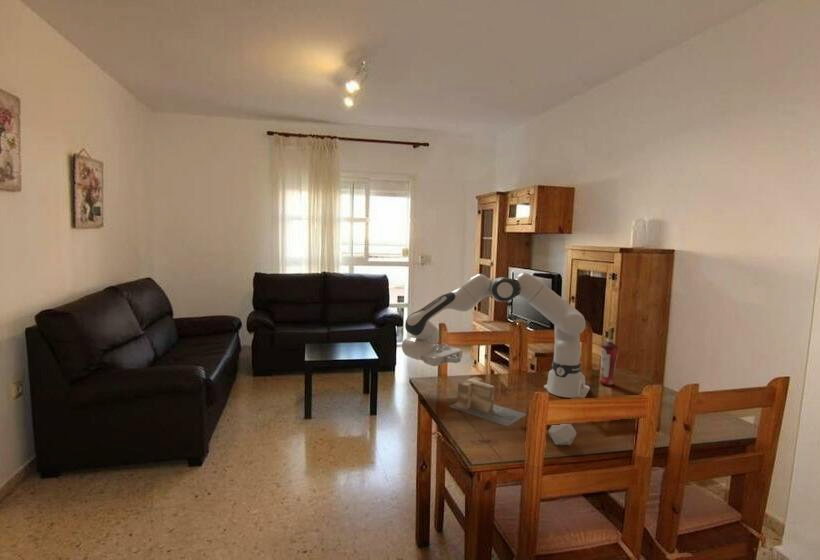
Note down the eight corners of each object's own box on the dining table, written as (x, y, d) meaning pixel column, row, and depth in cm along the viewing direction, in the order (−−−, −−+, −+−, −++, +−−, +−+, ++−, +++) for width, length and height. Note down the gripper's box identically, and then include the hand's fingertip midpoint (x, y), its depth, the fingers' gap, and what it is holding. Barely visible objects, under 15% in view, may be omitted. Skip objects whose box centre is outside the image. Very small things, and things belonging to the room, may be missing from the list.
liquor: (595, 382, 228) (599, 325, 225) (607, 381, 230) (612, 325, 227) (605, 387, 221) (610, 329, 218) (618, 386, 223) (623, 329, 220)
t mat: (470, 396, 202) (470, 396, 202) (527, 414, 185) (527, 414, 185) (448, 406, 190) (448, 406, 190) (507, 427, 173) (507, 426, 173)
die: (570, 453, 155) (584, 428, 157) (548, 438, 156) (562, 413, 158) (562, 450, 163) (575, 426, 165) (541, 436, 164) (554, 412, 166)
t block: (473, 399, 199) (474, 376, 197) (498, 407, 191) (499, 383, 190) (457, 407, 190) (458, 383, 188) (482, 415, 182) (483, 390, 181)
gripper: (417, 350, 196) (444, 357, 187) (446, 343, 211) (472, 349, 202) (417, 365, 196) (443, 373, 187) (446, 356, 212) (471, 363, 203)
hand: (458, 360), depth 195 cm, fingers closed
